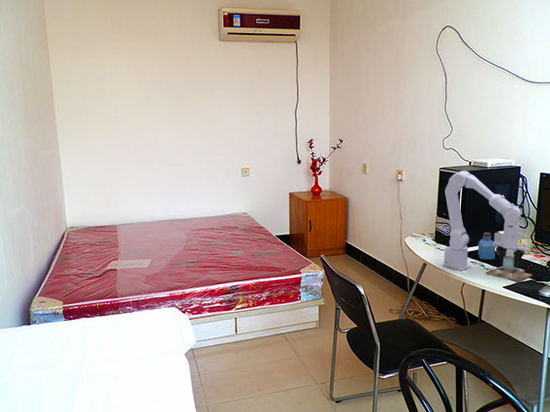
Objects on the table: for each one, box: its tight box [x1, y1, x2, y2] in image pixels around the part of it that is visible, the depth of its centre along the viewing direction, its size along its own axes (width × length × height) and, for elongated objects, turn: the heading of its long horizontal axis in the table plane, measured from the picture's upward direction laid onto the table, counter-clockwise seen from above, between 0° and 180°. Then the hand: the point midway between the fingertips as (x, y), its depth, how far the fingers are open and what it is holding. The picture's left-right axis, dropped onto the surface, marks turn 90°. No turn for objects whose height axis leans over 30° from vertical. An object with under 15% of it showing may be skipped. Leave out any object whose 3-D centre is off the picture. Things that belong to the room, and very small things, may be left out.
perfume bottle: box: [477, 232, 496, 260], centre depth 212 cm, size 6×6×12 cm
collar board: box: [486, 265, 533, 283], centre depth 188 cm, size 14×11×2 cm
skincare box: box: [497, 230, 514, 256], centre depth 212 cm, size 6×4×12 cm
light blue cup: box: [502, 255, 517, 271], centre depth 188 cm, size 5×5×5 cm
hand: (509, 265), depth 188 cm, fingers closed on light blue cup, 5 cm apart
